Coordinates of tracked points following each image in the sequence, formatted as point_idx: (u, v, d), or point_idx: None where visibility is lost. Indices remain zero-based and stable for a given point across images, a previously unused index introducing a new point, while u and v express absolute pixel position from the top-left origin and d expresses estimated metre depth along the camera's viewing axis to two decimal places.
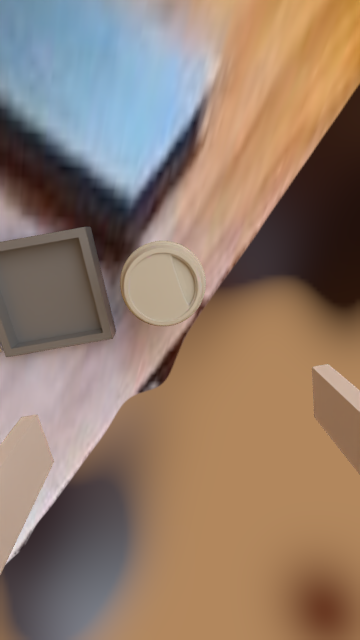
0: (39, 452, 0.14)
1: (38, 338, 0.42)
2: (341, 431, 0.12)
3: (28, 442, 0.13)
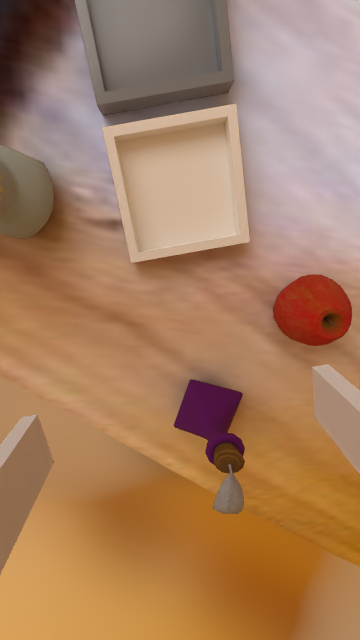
0: (39, 452, 0.14)
1: (214, 49, 0.32)
2: (341, 431, 0.12)
3: (28, 442, 0.13)
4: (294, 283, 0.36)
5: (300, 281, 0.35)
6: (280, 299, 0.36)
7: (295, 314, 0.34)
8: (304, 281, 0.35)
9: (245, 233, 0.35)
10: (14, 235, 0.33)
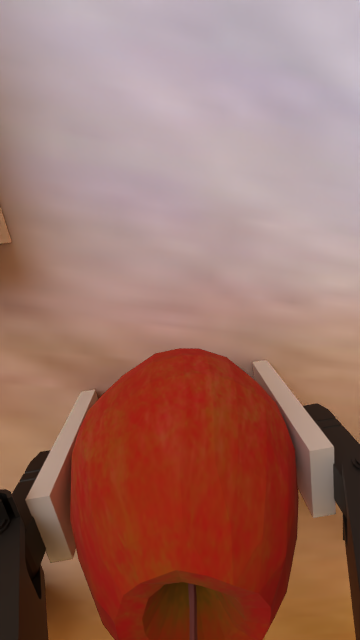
0: None
1: None
2: None
3: None
4: (123, 380, 0.11)
5: (133, 379, 0.11)
6: (79, 429, 0.11)
7: (77, 529, 0.09)
8: (139, 385, 0.10)
9: None
10: None
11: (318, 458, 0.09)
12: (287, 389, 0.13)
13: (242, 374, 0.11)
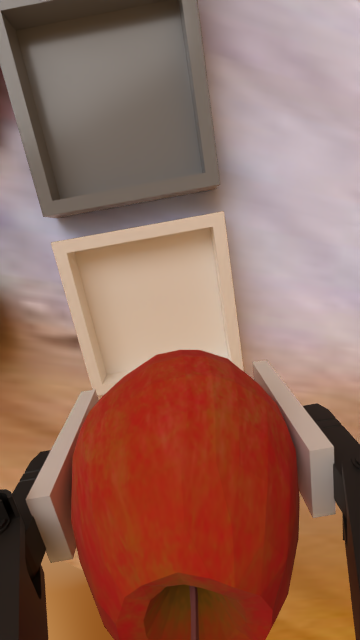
0: None
1: (195, 140, 0.25)
2: None
3: None
4: (124, 382, 0.11)
5: (134, 381, 0.11)
6: (80, 430, 0.11)
7: (78, 531, 0.09)
8: (140, 386, 0.10)
9: (238, 361, 0.28)
10: None
11: (318, 458, 0.09)
12: (287, 389, 0.13)
13: (243, 375, 0.11)
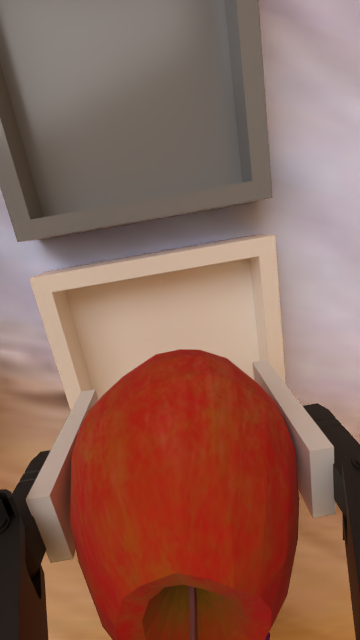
0: None
1: (235, 134, 0.18)
2: None
3: None
4: (123, 381, 0.11)
5: (133, 380, 0.11)
6: (79, 430, 0.11)
7: (77, 531, 0.09)
8: (139, 386, 0.10)
9: None
10: None
11: (318, 458, 0.09)
12: (287, 389, 0.13)
13: (243, 375, 0.11)
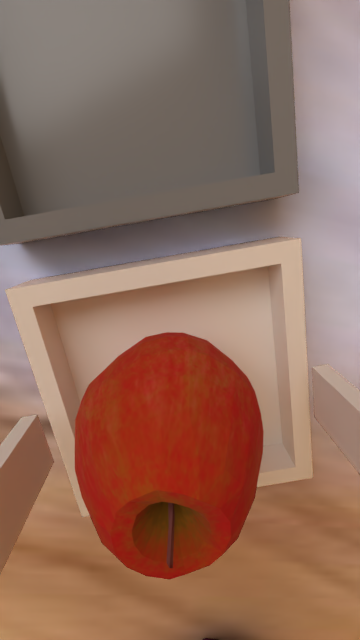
0: (39, 452, 0.14)
1: (252, 117, 0.15)
2: (341, 431, 0.12)
3: (28, 442, 0.13)
4: (118, 358, 0.13)
5: (126, 357, 0.13)
6: (81, 400, 0.13)
7: (80, 473, 0.11)
8: (131, 360, 0.12)
9: (305, 465, 0.18)
10: None
11: None
12: None
13: (218, 352, 0.13)
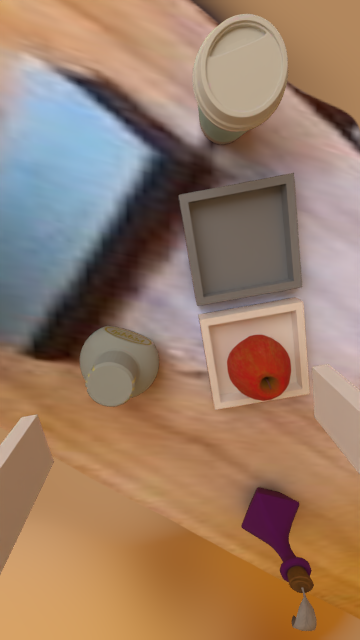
0: (39, 452, 0.14)
1: (285, 258, 0.42)
2: (341, 431, 0.12)
3: (28, 442, 0.13)
4: (242, 343, 0.40)
5: (246, 342, 0.40)
6: (230, 356, 0.40)
7: (239, 374, 0.38)
8: (249, 343, 0.39)
9: (306, 388, 0.45)
10: (130, 397, 0.43)
11: None
12: None
13: (275, 340, 0.40)
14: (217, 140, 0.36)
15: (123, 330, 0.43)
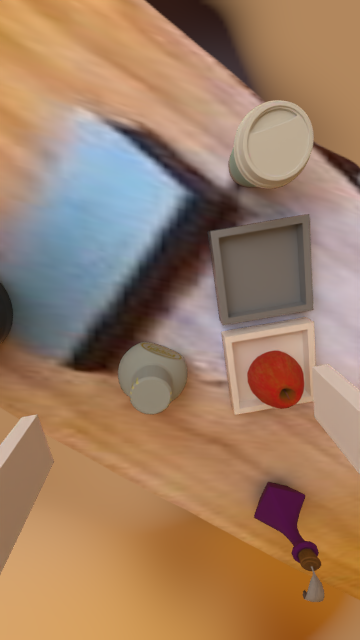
0: (39, 452, 0.14)
1: (298, 284, 0.48)
2: (341, 431, 0.12)
3: (28, 442, 0.13)
4: (262, 358, 0.46)
5: (266, 357, 0.46)
6: (251, 370, 0.47)
7: (261, 386, 0.44)
8: (269, 358, 0.45)
9: None
10: None
11: None
12: None
13: (290, 356, 0.46)
14: (244, 185, 0.42)
15: (156, 345, 0.49)
